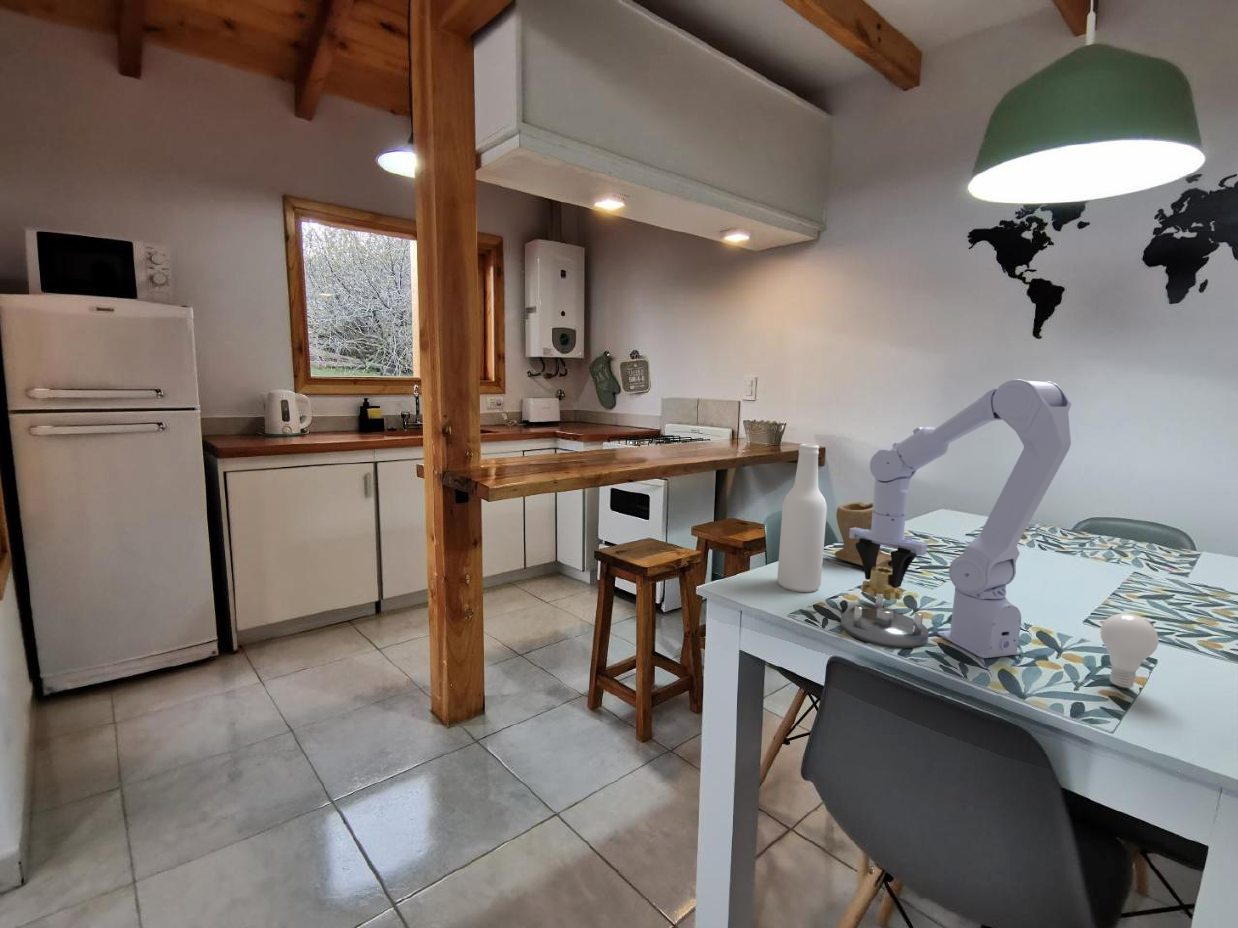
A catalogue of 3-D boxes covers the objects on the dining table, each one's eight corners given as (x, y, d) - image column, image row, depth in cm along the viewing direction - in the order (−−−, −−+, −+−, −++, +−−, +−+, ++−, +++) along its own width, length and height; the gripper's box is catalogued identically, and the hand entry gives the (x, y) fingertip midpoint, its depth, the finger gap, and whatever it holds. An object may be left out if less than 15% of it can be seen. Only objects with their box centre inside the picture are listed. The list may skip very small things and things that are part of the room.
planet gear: (910, 598, 113) (913, 575, 112) (878, 601, 111) (881, 577, 110) (884, 585, 120) (886, 563, 119) (853, 587, 118) (856, 565, 117)
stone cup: (821, 559, 147) (826, 499, 144) (855, 554, 152) (860, 496, 150) (873, 578, 133) (879, 512, 131) (908, 571, 139) (915, 508, 137)
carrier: (947, 643, 100) (950, 617, 99) (876, 651, 96) (879, 623, 96) (888, 612, 113) (891, 588, 113) (824, 617, 110) (826, 593, 109)
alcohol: (829, 589, 125) (841, 446, 121) (800, 595, 121) (811, 448, 116) (796, 576, 133) (807, 442, 128) (768, 582, 128) (777, 443, 124)
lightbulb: (1158, 702, 83) (1170, 627, 82) (1102, 692, 85) (1113, 619, 84) (1138, 681, 89) (1149, 611, 87) (1086, 672, 91) (1096, 603, 90)
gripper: (938, 518, 110) (931, 589, 111) (865, 504, 121) (860, 569, 123) (918, 522, 106) (911, 596, 107) (845, 507, 117) (840, 574, 119)
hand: (882, 582), depth 115 cm, fingers closed on planet gear, 5 cm apart
